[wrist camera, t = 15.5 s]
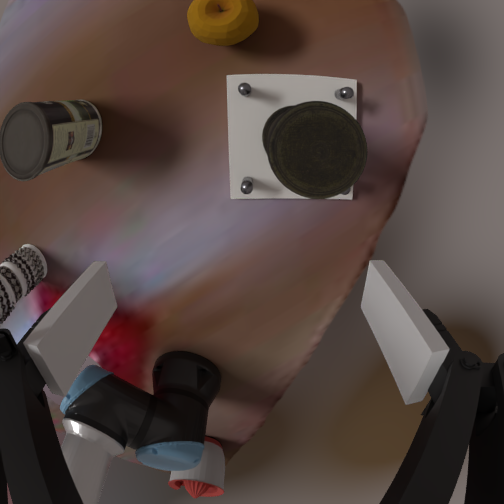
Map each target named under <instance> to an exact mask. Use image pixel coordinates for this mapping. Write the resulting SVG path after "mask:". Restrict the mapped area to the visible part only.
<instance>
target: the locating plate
mask: <svg viewBox="0 0 504 504" xmlns="http://www.w3.org/2000/svg"><path fill="white" fill-rule="evenodd" d="M308 101H324V102H329V103H332V104H335V105H337V106H339V107H341V108H343V109H344V110H346V111H347V112H348V113H350V114H351V115H352V116H353V117H354V118H355V119H356V117H357V80H353V79H345V78H336V77H324V76H311V75H290V74H242V75H227V105H228V138H229V167H230V193H231V199H263V198H301V199H311V198H306V197H303V196H300V195H298V194H296V193H294V192H292V191H290V190H289V189H287V188H286V187H285V186H284V185H283V184H282V183H281V182H280V181H279V180H278V179H277V177H276V176H275V175H274V173H273V171H272V169H271V167H270V164H269V161H268V156H267V154H266V152H265V149H264V146H263V142H262V132H263V128H264V125H265V123H266V121H267V119H268V118H269V117H270V116H271V115H272V114H273V113H274V112H275V111H277V110H278V109H280V108H283V107H286V106H292V105H297V104H300V103H303V102H308ZM352 197H353V185H352V186H351V187H350V188H349V189H348V190H346V191H345V192H343V193H341V194H339V195H337V196H334V197H331V198H326V199H351V200H352Z"/></svg>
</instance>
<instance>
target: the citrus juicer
mask: <svg viewBox="0 0 504 504" xmlns="http://www.w3.org/2000/svg"><path fill="white" fill-rule="evenodd" d="M224 474H225V458H224V454H223V449H222V446H221V444H220V443H219V442H218V441H217V440H215V439H213V438H210V437H206V436H205V441H204V449H203V453H202V457H201V461H200V463H199V464H198V465H197V466H196V467H195V468H192V469H189V470H184V471H171V477H170V481H169V483H168V484H169V486H170V487H172V488H173V489H175V490H177V489H179V488H180V486H181V485H182V486H185V488H186V490H187V491H188V492H189V494H190V495H191V496H192V497H193V498H197V497H199V496H208V497H210V496H219V495H222V494H223V493H224V490H223V487H224Z"/></svg>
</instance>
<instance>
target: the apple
mask: <svg viewBox="0 0 504 504" xmlns="http://www.w3.org/2000/svg"><path fill="white" fill-rule="evenodd" d="M187 18H188V23H189V27H190V29H191V32H192V34H193V35H194V36H195V37H196V38H197V39H199V40H200V41H201V42H204V43H208V44H213V45H219V46H229V45H233V44H236V43H238V42H240V41H243V40H245V39H246V38H247V37H248V36H250V35H251V34H252V33H253V32H254V31H255V30H256V29H257V27H258V23H259V15H258V11H257V8H256V5H255V3H254V2H253V1H252V0H194V1H193V2H192V3H191V5H190V7H189V9H188V13H187Z"/></svg>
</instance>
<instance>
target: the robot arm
mask: <svg viewBox="0 0 504 504" xmlns="http://www.w3.org/2000/svg"><path fill="white" fill-rule="evenodd" d="M117 307H118V306H117V303H116V299H115V295H114V292H113V288H112V284H111V280H110V276H109V272H108V267H107V263H106V262H99V261H94V262H93V263H92V264H91V265H90V266H89V267H88V268H87V269H86V270H85V271H84V272H83V274H82V275H81V276H80V277H79V278H78V279H77V280H76V281H75V282H74V283H73V284H72V285H71V287H70V288H69V289H68V290H67V291H66V292H65V293H64V294H63V295H62V297H61V298H60V299H59V300H58V301H57V302H56V303H55V305H54V306H53V307H52V308H50V309H49V310H47V311H46V312H44V313H43V314H42V315H41V316H40V317H39V318H38V319H37V321H36V322H35V323H34V324H33V325H32V328H30V329H29V330H28V331H27V333H26V334H25V335H24V336H23V338H22V339H21V340H20V341H19V343H18V344H16V342H15V340H14V338H13V336H12V334H11V332H10V331H9V330H8V329H0V504H8V496H7V483H8V487H9V491H10V495H11V499H12V502H13V504H98V501H99V498H100V495H101V492H102V488H103V485H104V482H105V479H106V476H107V473H108V469H109V466H110V463H111V460H112V457H114V456H116V455H119V454H122V453H123V452H124V450H125V447H126V446H128V447H130V448H133V449H135V450H136V452H135V454H136V458H137V459H138V460H139V461H140V462H142V463H143V464H145V465H147V466H150V467H153V468H157V469H162V470H169V471H184V470H189V469H192V468H195V467H196V466H197V465H198V464H199V463H200V461H201V457H202V453H203V449H204V441H205V433H206V425H207V417H208V410H209V407H210V405H211V403H212V402H213V400H214V398H215V397H216V395H217V393H218V392H219V389H220V383H221V375H220V372H219V370H218V369H217V368H216V366H215V365H214V364H212V363H211V362H210V361H209V360H207V359H205V358H203V357H201V356H199V355H196V354H193V353H189V352H179V351H178V352H169V353H166V354H164V355H162V356H160V357H159V358H158V359H157V360H156V362H155V365H154V368H153V372H152V377H153V390H154V395H151V394H149V393H147V392H145V391H144V390H142V389H140V388H138V387H136V386H134V385H132V384H130V383H128V382H127V381H125V380H123V379H121V378H119V377H118V376H116V375H114V373H112V372H108V371H106V370H104V369H102V368H101V367H99V366H97V365H90V366H88V367H86V368H85V369H84V370H83V371H82V372H81V373H80V374H79V376H78V377H77V378H76V376H77V374H78V373H79V371H80V369H81V367H82V365H83V364H84V362H85V360H86V358H87V357H88V355H89V353H90V351H91V350H92V348H93V346H94V344H95V343H96V341H97V339H98V338H99V336H100V334H101V333H102V331H103V329H104V328H105V326H106V324H107V323H108V321H109V319H110V318H111V316H112V315H113V313H114V311H115V310H116V308H117ZM361 309H362V311H363V313H364V315H365V317H366V319H367V321H368V323H369V325H370V327H371V329H372V331H373V333H374V335H375V337H376V340H377V342H378V344H379V346H380V348H381V350H382V352H383V354H384V357H385V359H386V361H387V363H388V365H389V367H390V370H391V372H392V374H393V377H394V379H395V381H396V383H397V386H398V388H399V390H400V393H401V395H402V397H403V400H404V402H405V404H411V403H415V402H420V401H422V400H423V398H424V397H425V395H426V393H427V392H429V394H430V396H431V400H430V401H429V403H428V404H427V406H426V408H425V409H424V411H423V412H422V414H421V415H424V416H423V418H422V421H421V423H420V425H419V428H418V430H417V432H416V435H415V437H414V439H413V442H412V444H411V446H410V448H409V450H408V453H407V455H406V457H405V458H404V461H403V462H402V464H401V466H400V468H399V471H398V472H397V474H396V476H395V478H394V480H393V481H392V483H391V485H390V487H389V489H388V490H387V492H386V494H385V495H384V497H383V499H382V500H381V502H380V504H448V503H449V501H450V498H451V496H452V494H453V491H454V488H455V486H456V483H457V480H458V477H459V475H460V472H461V469H462V465H463V462H464V459H465V456H466V452H467V449H468V445H469V463H468V476H467V487H466V494H465V503H464V504H504V353H503V354H501V355H500V356H499V357H498V359H497V361H496V363H482V361H481V359H480V358H479V357H478V356H477V355H476V354H474V353H471V352H468V351H462V350H461V348H460V347H459V346H458V344H457V343H456V341H455V340H454V339H453V337H452V336H451V334H450V333H449V332H448V331H447V330H446V328H445V326H444V325H442V322H441V321H440V320H439V319H438V317H437V316H436V315H435V314H434V313H432V312H431V311H430V310H428V309H423V310H422V309H421V308H420V306H419V305H418V304H417V302H416V301H415V300H414V298H413V297H412V296H411V294H410V293H409V292H408V291H407V289H406V288H405V287H404V285H403V284H402V283H401V282H400V280H399V279H398V278H397V276H396V275H395V274H394V273H393V271H392V270H391V269H390V268H389V266H388V265H387V264H386V263H385V262H384V260H370V262H369V267H368V273H367V279H366V284H365V288H364V293H363V299H362V303H361ZM75 378H76V380H75ZM74 380H75V381H74ZM45 384H47V386H48V388H49V389H50V391H51V392H52V393H54V394H57V395H61V396H64V399H63V401H62V403H61V406H60V410H61V411H62V412H63V413H64V414H65V417H64V419H63V425H64V427H65V430H66V437H65V439H64V441H63V444H62V446H61V447H60V444H59V441H58V437H57V434H56V431H55V428H54V424H53V421H52V417H51V413H50V410H49V406H48V402H47V397H46V394H45V392H44V391H43V387H44V386H45Z"/></svg>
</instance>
